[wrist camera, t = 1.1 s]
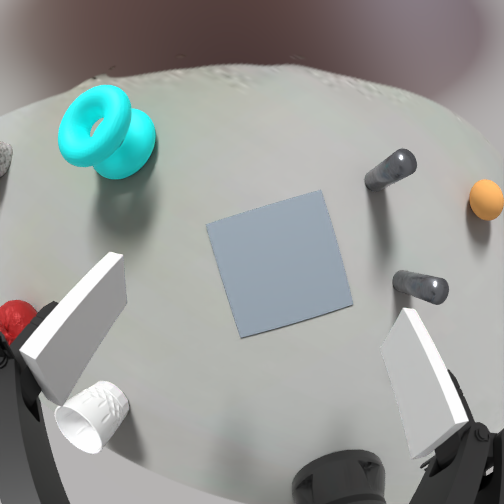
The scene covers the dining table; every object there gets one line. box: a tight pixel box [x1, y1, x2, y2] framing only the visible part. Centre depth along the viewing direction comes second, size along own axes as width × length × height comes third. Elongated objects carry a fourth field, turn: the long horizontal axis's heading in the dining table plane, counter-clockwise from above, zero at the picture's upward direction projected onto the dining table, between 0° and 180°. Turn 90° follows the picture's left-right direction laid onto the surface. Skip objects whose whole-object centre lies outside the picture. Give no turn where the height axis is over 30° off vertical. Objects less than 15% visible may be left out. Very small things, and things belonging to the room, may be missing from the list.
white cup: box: [55, 381, 129, 454], centre depth 30 cm, size 8×8×10 cm
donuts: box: [58, 85, 156, 179], centre depth 29 cm, size 10×10×10 cm
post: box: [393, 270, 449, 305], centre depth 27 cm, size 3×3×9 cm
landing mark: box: [206, 190, 353, 337], centre depth 32 cm, size 14×14×1 cm
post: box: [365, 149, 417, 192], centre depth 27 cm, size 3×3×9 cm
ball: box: [469, 180, 504, 220], centre depth 27 cm, size 6×6×6 cm
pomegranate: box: [0, 300, 37, 346], centre depth 31 cm, size 10×10×9 cm
